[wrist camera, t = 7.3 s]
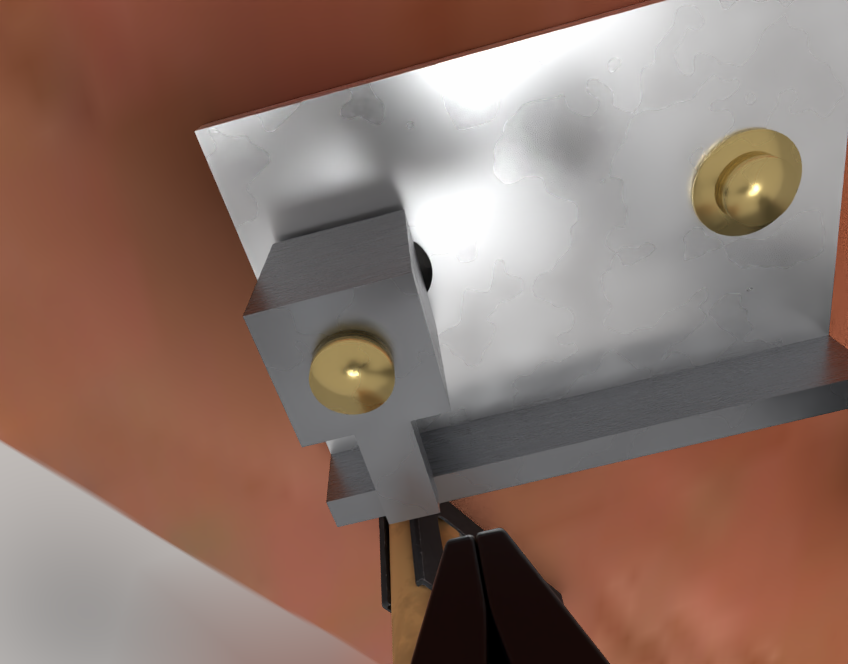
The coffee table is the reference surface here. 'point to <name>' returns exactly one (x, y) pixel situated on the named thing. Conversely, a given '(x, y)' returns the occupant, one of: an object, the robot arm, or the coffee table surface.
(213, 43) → the coffee table surface
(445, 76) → the hole plate
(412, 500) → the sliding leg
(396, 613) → the ammunition clip
